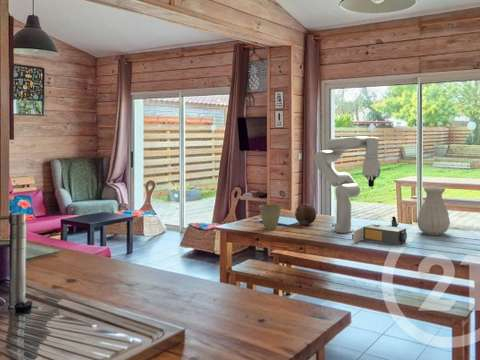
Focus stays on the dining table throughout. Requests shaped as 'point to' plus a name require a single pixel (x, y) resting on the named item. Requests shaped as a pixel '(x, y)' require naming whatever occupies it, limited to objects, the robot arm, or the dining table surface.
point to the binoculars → (394, 222)
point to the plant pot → (270, 215)
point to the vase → (433, 213)
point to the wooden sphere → (305, 214)
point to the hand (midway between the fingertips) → (371, 186)
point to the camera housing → (384, 234)
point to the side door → (357, 235)
